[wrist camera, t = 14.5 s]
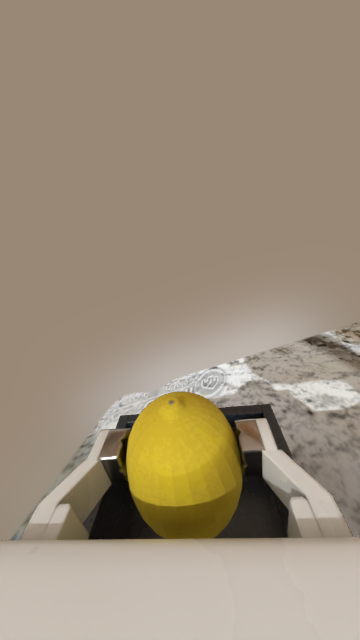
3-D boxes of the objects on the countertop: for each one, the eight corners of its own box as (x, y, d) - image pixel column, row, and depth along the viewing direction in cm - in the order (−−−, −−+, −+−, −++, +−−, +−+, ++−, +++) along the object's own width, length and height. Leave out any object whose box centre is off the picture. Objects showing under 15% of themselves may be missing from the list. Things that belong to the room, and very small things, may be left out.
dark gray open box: (79, 742, 10) (6, 722, 7) (139, 465, 22) (120, 415, 19) (371, 773, 9) (423, 763, 6) (269, 458, 20) (269, 403, 17)
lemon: (188, 619, 9) (143, 515, 6) (132, 500, 13) (88, 402, 10) (267, 512, 12) (267, 400, 8) (200, 442, 16) (182, 350, 13)
